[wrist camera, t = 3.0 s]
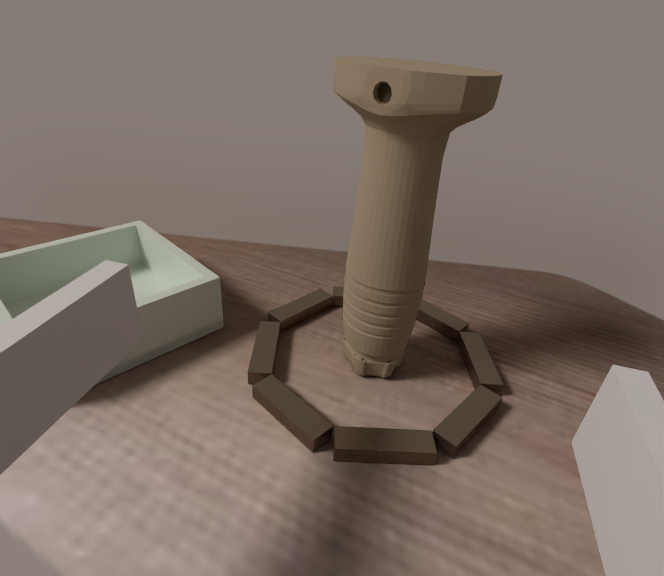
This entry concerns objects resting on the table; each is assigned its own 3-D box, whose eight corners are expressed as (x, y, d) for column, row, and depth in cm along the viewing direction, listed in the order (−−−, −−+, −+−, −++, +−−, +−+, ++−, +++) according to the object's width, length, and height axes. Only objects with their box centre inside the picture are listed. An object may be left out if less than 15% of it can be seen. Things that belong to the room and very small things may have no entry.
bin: (223, 327, 26) (219, 277, 25) (37, 410, 20) (13, 352, 18) (147, 264, 32) (140, 220, 30) (-16, 314, 26) (-38, 262, 24)
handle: (348, 320, 28) (376, 55, 20) (441, 364, 25) (518, 72, 17) (300, 359, 24) (311, 57, 16) (402, 415, 21) (475, 78, 13)
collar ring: (534, 369, 25) (538, 359, 24) (390, 524, 17) (393, 513, 16) (362, 278, 32) (363, 268, 32) (205, 353, 24) (204, 341, 24)
